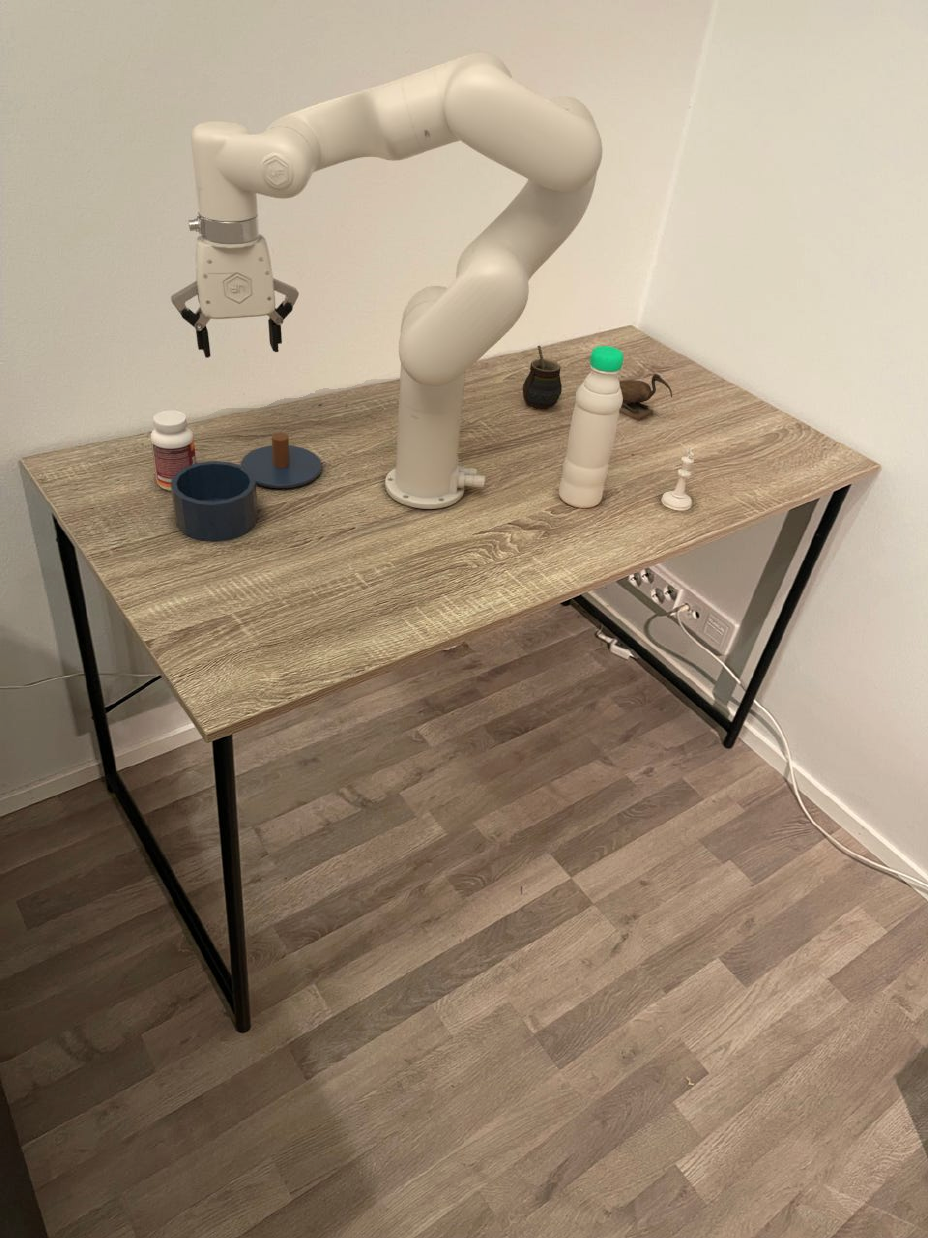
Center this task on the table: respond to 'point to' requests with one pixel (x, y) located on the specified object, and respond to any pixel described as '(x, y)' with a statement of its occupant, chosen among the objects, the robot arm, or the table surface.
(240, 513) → the tin
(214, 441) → the table surface
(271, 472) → the lid
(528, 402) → the mate gourd
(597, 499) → the water bottle
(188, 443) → the pill bottle
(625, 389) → the figurine
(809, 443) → the table surface
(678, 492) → the chess piece
